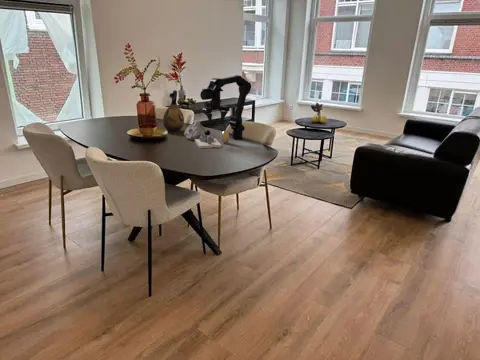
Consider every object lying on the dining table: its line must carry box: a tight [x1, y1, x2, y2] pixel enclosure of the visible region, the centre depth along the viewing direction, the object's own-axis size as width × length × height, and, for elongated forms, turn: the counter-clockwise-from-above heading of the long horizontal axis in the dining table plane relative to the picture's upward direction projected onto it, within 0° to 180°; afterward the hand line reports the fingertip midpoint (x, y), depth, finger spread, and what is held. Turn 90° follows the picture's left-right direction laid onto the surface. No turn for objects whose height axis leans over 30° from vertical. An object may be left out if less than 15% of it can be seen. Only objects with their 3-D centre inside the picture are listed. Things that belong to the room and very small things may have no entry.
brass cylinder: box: [221, 130, 230, 145], centre depth 227 cm, size 4×4×8 cm
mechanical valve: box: [183, 119, 211, 141], centre depth 241 cm, size 10×18×15 cm
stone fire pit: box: [194, 134, 222, 149], centre depth 224 cm, size 14×18×6 cm
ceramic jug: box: [162, 89, 185, 134], centre depth 252 cm, size 17×15×30 cm
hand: (216, 122), depth 227 cm, fingers open, 9 cm apart
